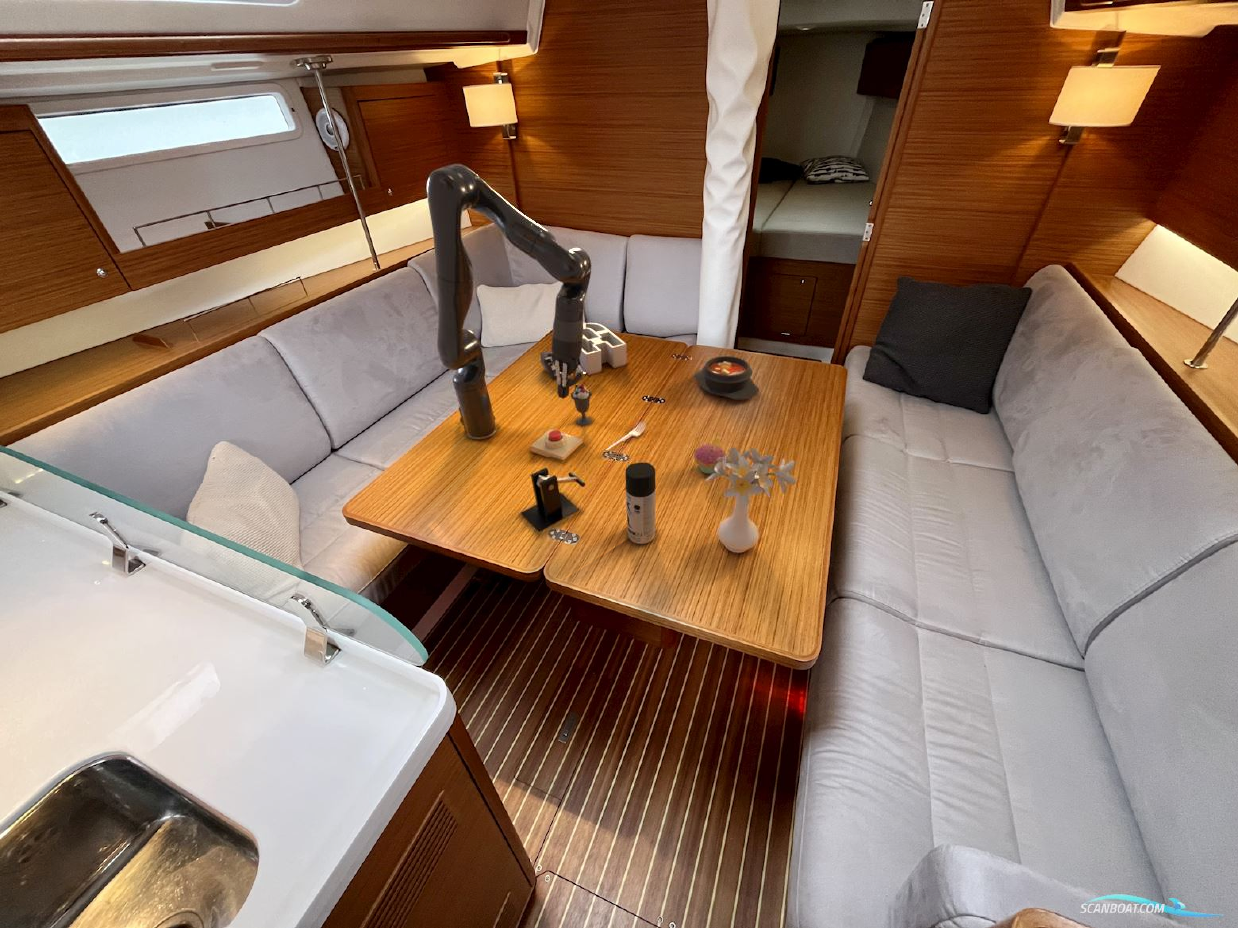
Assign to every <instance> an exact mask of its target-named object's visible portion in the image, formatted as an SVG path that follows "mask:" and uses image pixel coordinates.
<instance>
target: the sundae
mask: <svg viewBox="0 0 1238 928" xmlns="http://www.w3.org/2000/svg"><path fill="white" fill-rule="evenodd" d="M585 384H586V383H585V381H583V383H582V384H581V385H579V384H575V385H574V391H572V392H571V393H570V398H571V399H572V400H573V402H574V405H575V409H576V411H577V412H578V413H580V414H581V417H579V418H578V419H577V420H576V424H577V425H579V426H581V427H582V426H583V427H585V426H588V425H590V424H591V423H592V421H593V420H592V418H590V417H588V416H586V413H587V412H588V411H589V409H590V402H591V401H590V400H591V397H592V396H593V392H592V391H590V390H588V389H587V387H586V386H585Z"/></svg>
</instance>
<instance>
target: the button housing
mask: <svg viewBox="0 0 1238 928" xmlns="http://www.w3.org/2000/svg"><path fill="white" fill-rule="evenodd" d="M551 431H554V429H551V428H550V429H549V430H547V431H546V432H545V433H544V434H543V435H541V436H540V437H538V438H537V440H535V441H534V442H533V443H532V444H530V445H529V446H530V447H529V448H530V451H531V452H532V453H535V454H537V455H540V456H543V457H546V458H550V457H553V458H554V459H558V460H560V461H564V460H565V459H566V458H568V457H569V456H570V454H572V453H573V452H574V451H575V450H576V449H578V447H580V445H581V444H583V438H579V437H576V436H573V435H571V434H567V433H565V432H564V431H560V432H561V437H562V439H561V440H559V441H557V442H552V441H550V439H549V433H550V432H551Z"/></svg>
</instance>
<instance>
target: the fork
mask: <svg viewBox="0 0 1238 928" xmlns="http://www.w3.org/2000/svg"><path fill="white" fill-rule="evenodd" d="M647 426H648V425H647V423H645V422H642V421H640V422H639V423H638V424H637V425H636V426H635V427H634V428H633V429H632V430H630V431H629V432H628V433H627V434H626V435H625V436H623V437H621V438H620V439H619V440H617V441H616V442H614V443H613V444H611V445H610V446H609V447H607V448H606V449H605V450H606V451H608V450H610V449H612V448H613V447H615V446H617V445H618V444H619V443H621V442H624V441H627V440H628V439H629V438H630V437H639V436H640V435H642V433H643V432H644V431H645V429H646V427H647Z"/></svg>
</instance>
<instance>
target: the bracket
mask: <svg viewBox="0 0 1238 928" xmlns="http://www.w3.org/2000/svg"><path fill="white" fill-rule="evenodd" d="M539 475H549V476H550V473H549V469H548V468H547V467H544V468H542V469H540V470H538V471H535V472H534V473H531V474H530V480H531V484H532V489H533V494H534V499H535V504H534V505H533V506H531V507H529V508H527V509H525V510H523V511H521V512H520V514H521V516H522V517H524V518H525V520H526V521H528V522H529V524H530V525H531V526H532V527H533V528H534V529H535V530H536V531H537V532H538V533H541V532H542V531H543V532H544V530H546V529H548V528H550V527H552V526H554V525H555V524H557V523H558V522H561V521H563V520H564V519H566V518H568V517H570V516H572V515H573V514H575V513H577V512H579V511H580V509H579V507H577V506H576V505H575V504H574V503H573V502H572V501H570V500H569V498H567V497H566V496H565V495H564V494H563V493H562V492H560V490H559V489H560V488H559V483H558V481H557V478H558V476H556V475H552V476H550V478H548V479H546V480H544V481H542V482H540V483H539V485H540V487H539V486H538V485H537V480H538V477H539Z"/></svg>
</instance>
